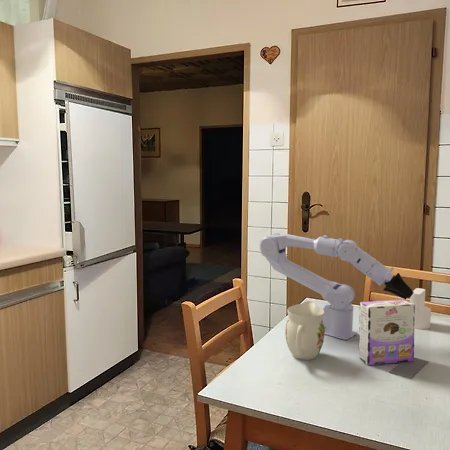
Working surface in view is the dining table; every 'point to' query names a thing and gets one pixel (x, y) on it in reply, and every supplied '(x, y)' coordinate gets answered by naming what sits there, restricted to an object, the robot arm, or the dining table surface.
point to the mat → (409, 368)
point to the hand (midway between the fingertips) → (409, 296)
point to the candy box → (386, 332)
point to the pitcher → (305, 330)
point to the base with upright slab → (420, 309)
